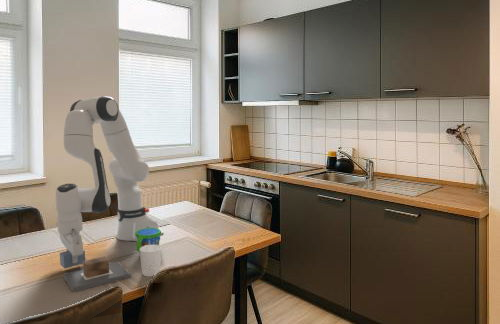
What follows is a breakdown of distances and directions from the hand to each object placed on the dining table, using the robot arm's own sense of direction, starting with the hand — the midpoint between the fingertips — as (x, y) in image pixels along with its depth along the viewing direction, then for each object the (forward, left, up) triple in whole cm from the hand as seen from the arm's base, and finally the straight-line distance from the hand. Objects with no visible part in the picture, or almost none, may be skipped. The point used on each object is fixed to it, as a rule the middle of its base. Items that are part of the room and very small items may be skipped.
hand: (72, 259), depth 156 cm
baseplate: (-5, +14, -4) cm, 15 cm away
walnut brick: (-5, +14, -2) cm, 15 cm away
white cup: (-23, +22, -4) cm, 32 cm away
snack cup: (-30, +3, -4) cm, 31 cm away
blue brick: (0, 0, -2) cm, 2 cm away
